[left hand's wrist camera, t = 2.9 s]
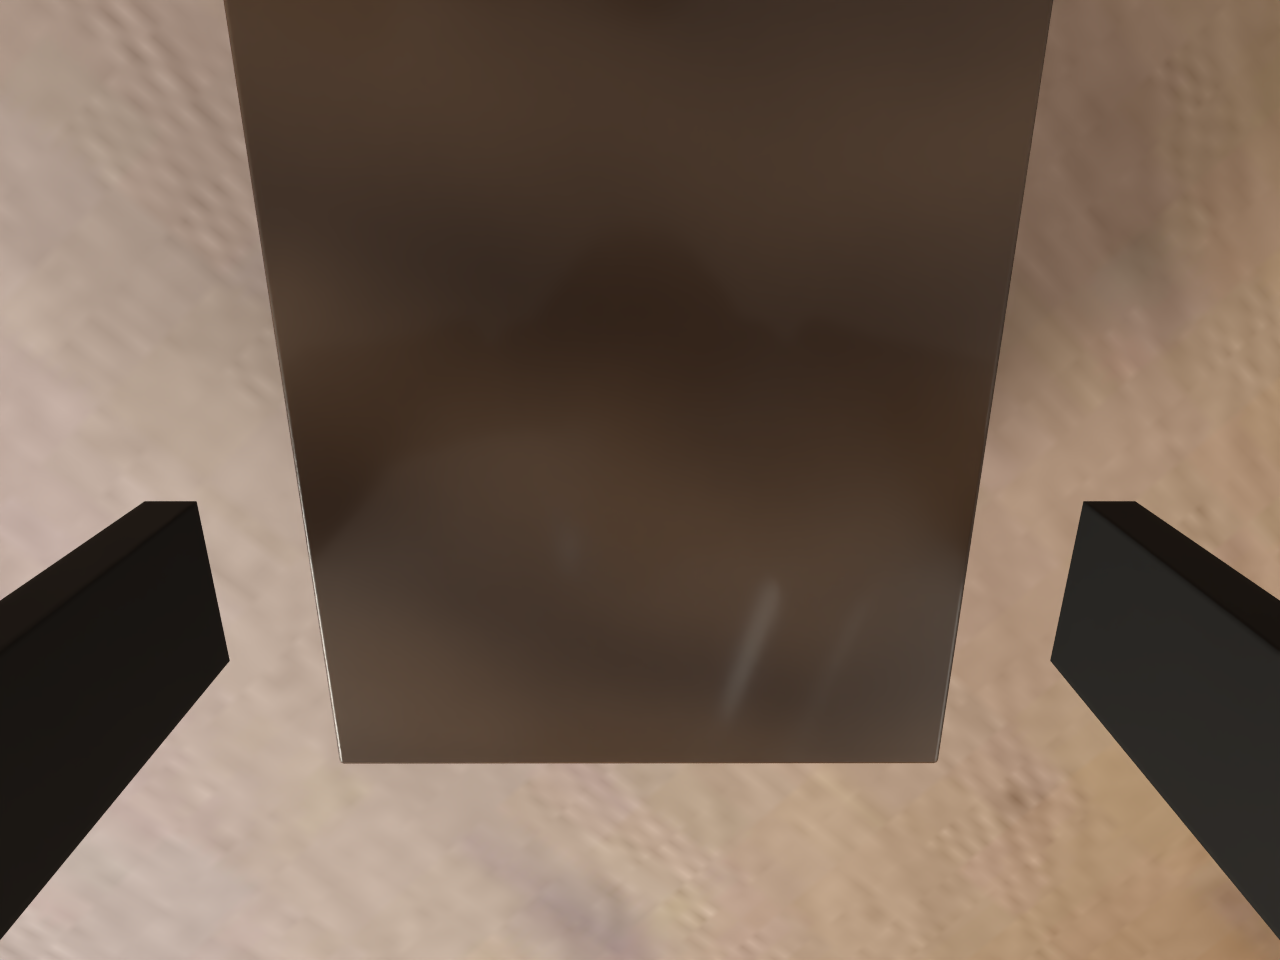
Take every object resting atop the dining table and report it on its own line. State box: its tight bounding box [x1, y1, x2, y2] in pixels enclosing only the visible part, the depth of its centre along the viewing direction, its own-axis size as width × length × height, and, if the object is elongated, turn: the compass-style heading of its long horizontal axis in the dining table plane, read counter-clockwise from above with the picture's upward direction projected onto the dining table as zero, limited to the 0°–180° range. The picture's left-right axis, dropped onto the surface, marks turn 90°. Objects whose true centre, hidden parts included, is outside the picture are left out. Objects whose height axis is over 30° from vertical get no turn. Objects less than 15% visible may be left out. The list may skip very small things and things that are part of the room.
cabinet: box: [224, 0, 1053, 764], centre depth 17 cm, size 17×11×11 cm, turn 0°
